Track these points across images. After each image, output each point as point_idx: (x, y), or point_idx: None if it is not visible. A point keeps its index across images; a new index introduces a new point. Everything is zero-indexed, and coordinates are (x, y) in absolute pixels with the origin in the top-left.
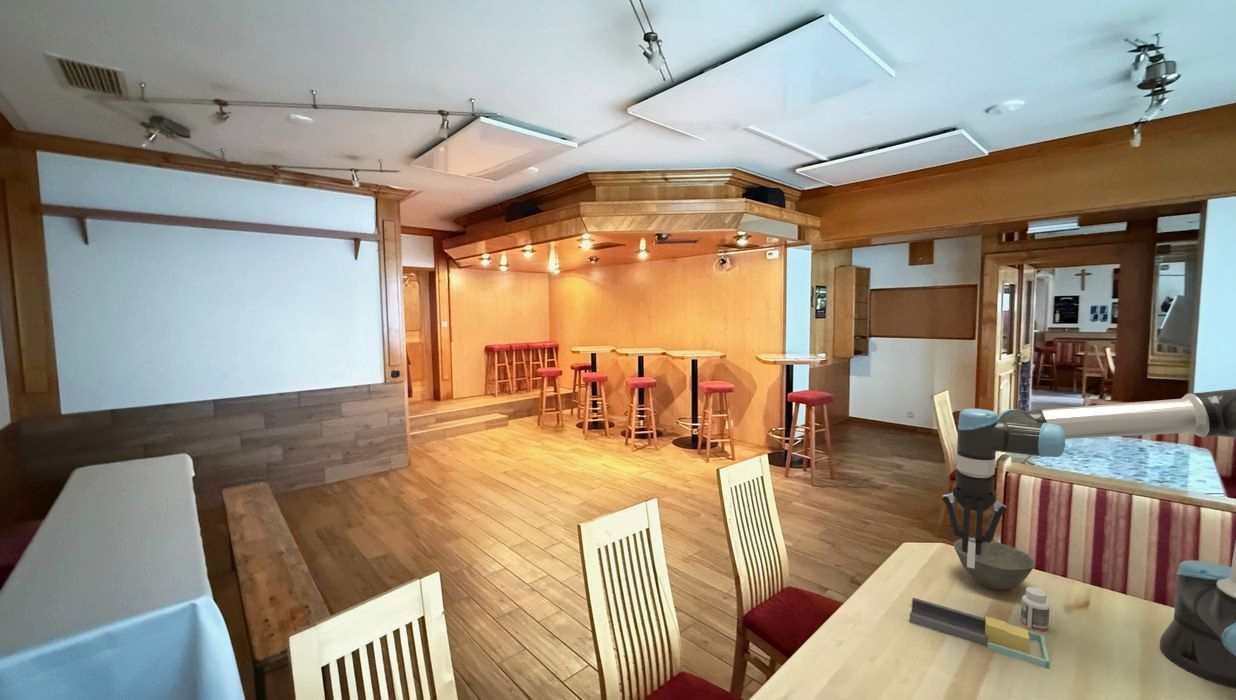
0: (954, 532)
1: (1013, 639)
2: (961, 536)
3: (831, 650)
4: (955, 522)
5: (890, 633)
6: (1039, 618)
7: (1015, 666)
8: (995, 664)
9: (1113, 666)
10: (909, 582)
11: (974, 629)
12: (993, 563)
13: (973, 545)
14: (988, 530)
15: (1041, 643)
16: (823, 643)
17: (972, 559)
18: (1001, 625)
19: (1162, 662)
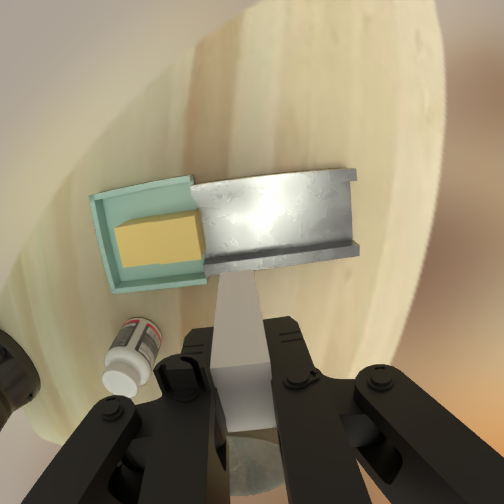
0: (401, 381)
1: (144, 220)
2: (331, 387)
3: (417, 18)
4: (451, 467)
5: (368, 113)
6: (121, 335)
7: (144, 167)
8: (175, 144)
9: (46, 292)
10: (358, 342)
11: (224, 238)
12: (230, 460)
13: (226, 351)
14: (80, 492)
15: (110, 265)
16: (432, 30)
17: (229, 292)
18: (165, 239)
19: (25, 341)
